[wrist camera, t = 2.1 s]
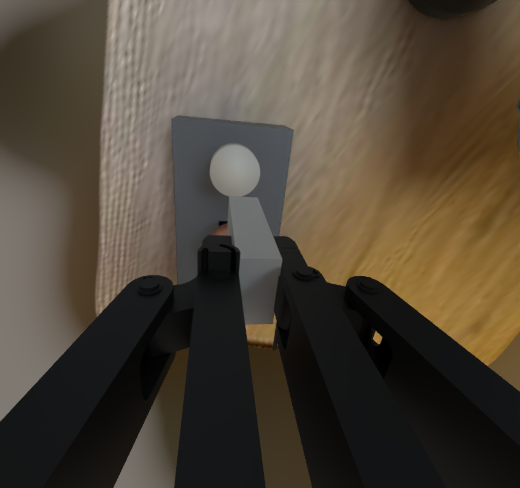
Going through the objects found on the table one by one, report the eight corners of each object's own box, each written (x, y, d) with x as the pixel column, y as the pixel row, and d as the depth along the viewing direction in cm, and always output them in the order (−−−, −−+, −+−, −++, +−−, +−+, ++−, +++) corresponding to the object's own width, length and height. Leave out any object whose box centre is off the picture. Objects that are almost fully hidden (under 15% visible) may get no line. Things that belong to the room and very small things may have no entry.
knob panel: (283, 125, 34) (293, 130, 29) (263, 287, 44) (268, 308, 39) (178, 115, 32) (171, 118, 27) (183, 286, 42) (178, 309, 38)
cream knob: (253, 137, 31) (262, 148, 24) (250, 178, 33) (257, 198, 26) (212, 134, 30) (210, 144, 24) (211, 175, 32) (209, 195, 26)
